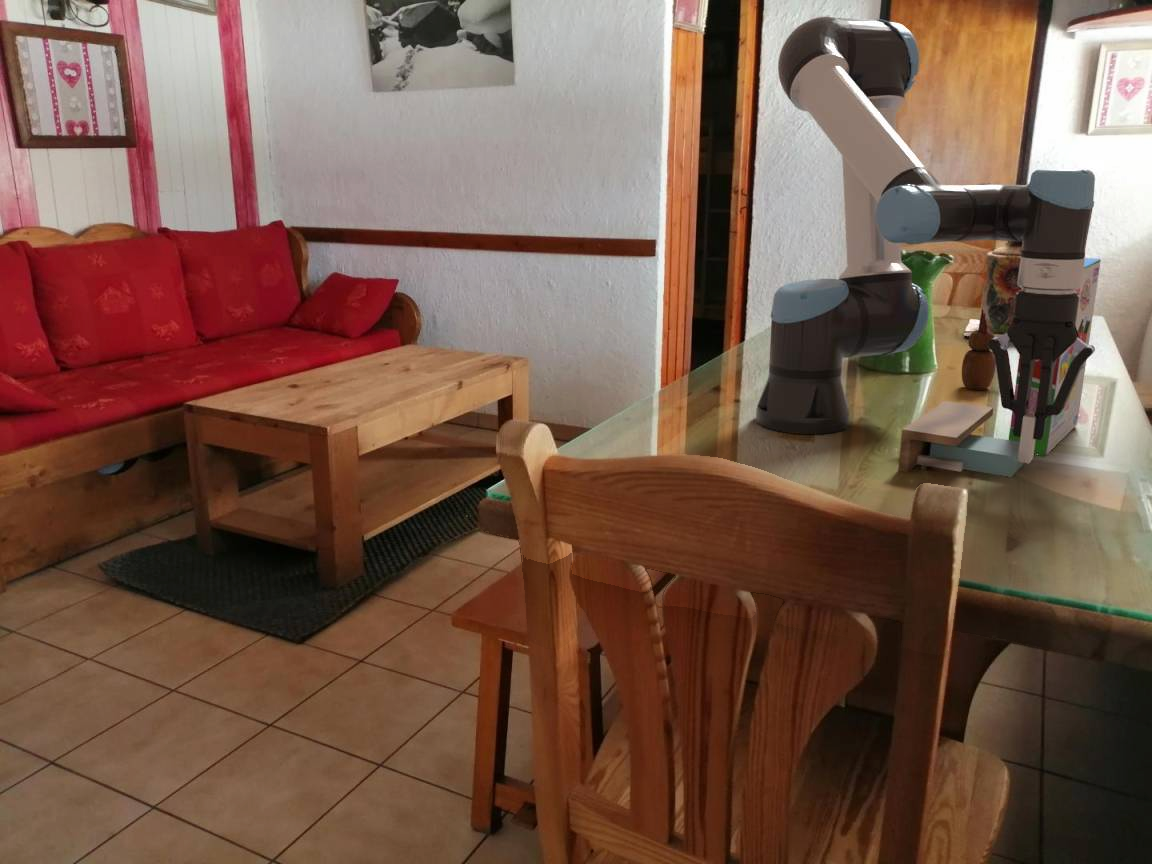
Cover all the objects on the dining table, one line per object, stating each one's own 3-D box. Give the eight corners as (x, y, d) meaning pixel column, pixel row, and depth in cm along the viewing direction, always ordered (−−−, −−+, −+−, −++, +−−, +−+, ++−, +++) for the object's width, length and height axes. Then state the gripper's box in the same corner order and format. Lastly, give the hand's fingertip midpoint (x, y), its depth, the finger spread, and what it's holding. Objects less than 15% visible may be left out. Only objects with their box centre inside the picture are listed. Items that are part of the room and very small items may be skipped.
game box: (1041, 421, 151) (1063, 256, 144) (1077, 427, 148) (1102, 258, 140) (1006, 450, 136) (1029, 267, 128) (1045, 457, 132) (1072, 269, 125)
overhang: (898, 470, 127) (902, 429, 125) (940, 437, 142) (944, 400, 141) (951, 480, 123) (956, 437, 121) (988, 445, 138) (993, 407, 136)
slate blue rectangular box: (928, 463, 130) (930, 443, 129) (944, 449, 136) (946, 430, 135) (1011, 477, 124) (1014, 456, 123) (1024, 462, 130) (1026, 442, 129)
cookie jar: (968, 324, 248) (981, 204, 239) (1069, 330, 237) (1087, 205, 229) (961, 339, 227) (976, 207, 218) (1072, 346, 216) (1092, 208, 207)
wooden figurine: (962, 383, 179) (971, 307, 175) (994, 386, 176) (1004, 309, 172) (957, 390, 173) (965, 312, 169) (989, 393, 170) (999, 314, 166)
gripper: (988, 289, 120) (968, 458, 127) (1099, 296, 113) (1072, 475, 119) (1001, 284, 126) (982, 446, 133) (1108, 290, 119) (1082, 461, 125)
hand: (1025, 459), depth 126 cm, fingers closed
